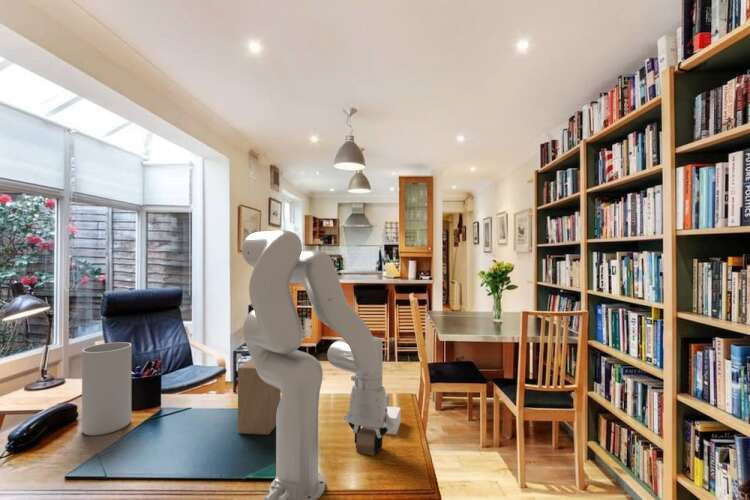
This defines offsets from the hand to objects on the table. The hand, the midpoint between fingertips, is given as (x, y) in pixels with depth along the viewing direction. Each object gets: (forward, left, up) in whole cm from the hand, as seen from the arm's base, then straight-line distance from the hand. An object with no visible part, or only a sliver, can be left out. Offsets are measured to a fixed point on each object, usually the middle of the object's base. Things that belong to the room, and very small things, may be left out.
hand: (368, 447), depth 101 cm
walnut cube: (0, 0, -1) cm, 1 cm away
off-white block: (+14, 0, -1) cm, 14 cm away
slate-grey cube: (+25, +6, -1) cm, 26 cm away
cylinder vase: (-17, +82, -1) cm, 84 cm away
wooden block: (0, +37, -1) cm, 37 cm away
